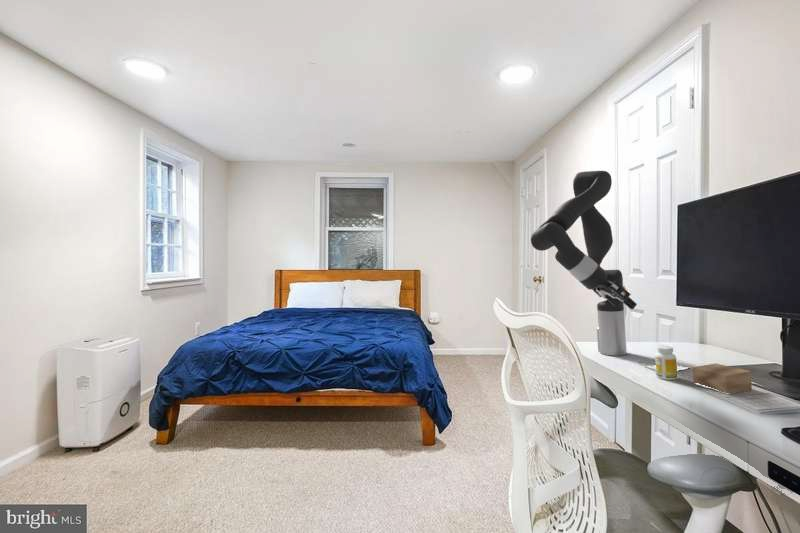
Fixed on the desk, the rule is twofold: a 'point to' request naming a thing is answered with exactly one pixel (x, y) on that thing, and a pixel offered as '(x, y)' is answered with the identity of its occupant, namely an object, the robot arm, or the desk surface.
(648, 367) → the page
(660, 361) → the supplement bottle
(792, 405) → the desk surface
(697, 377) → the walnut block
